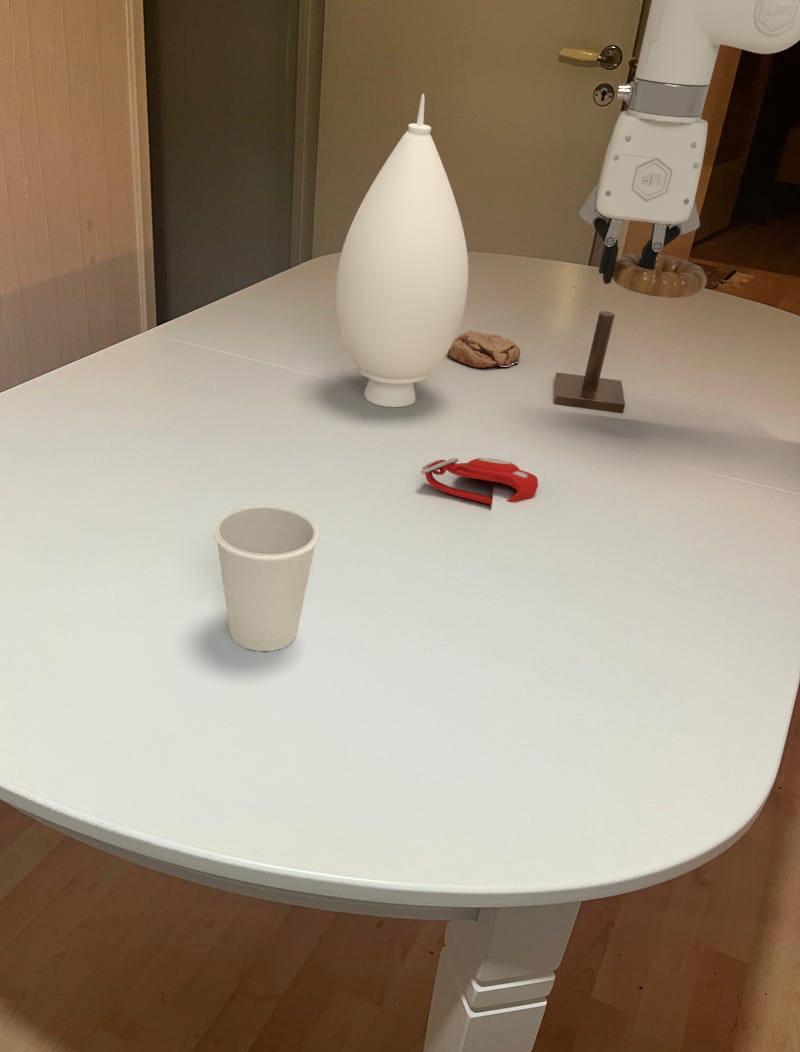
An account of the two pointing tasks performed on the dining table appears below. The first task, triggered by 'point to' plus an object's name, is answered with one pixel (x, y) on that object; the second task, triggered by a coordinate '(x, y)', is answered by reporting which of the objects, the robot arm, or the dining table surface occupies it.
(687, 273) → the ring
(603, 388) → the peg
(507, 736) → the dining table surface
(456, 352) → the cookie
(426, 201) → the lamp
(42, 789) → the dining table surface
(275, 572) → the dixie cup
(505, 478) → the tracker holder
